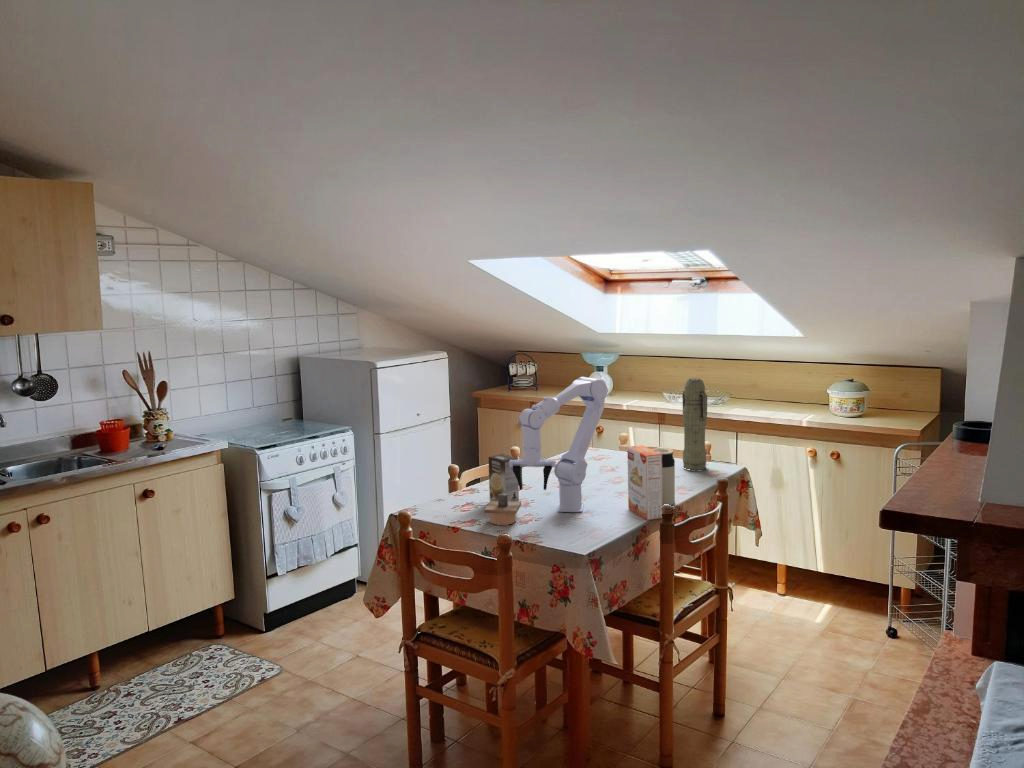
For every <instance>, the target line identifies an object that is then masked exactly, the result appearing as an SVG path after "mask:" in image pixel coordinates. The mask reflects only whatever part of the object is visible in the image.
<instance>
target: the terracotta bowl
mask: <svg viewBox="0 0 1024 768" xmlns="http://www.w3.org/2000/svg"><path fill="white" fill-rule="evenodd" d="M517 514H518V513H516V514H503V513H489V522H492V523H494V524H498V525H506V526H510V525H509V524H512V523H514V522H515V521H517V518H518V517H517ZM492 523H491V524H492ZM515 523H516V522H515ZM515 523H514V524H515ZM494 524H493V525H494ZM498 525H497V526H498ZM512 525H513V524H512Z"/></svg>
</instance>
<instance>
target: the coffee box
mask: <svg viewBox="0 0 1024 768" xmlns="http://www.w3.org/2000/svg"><path fill="white" fill-rule="evenodd" d="M517 459H519V458H518V457H514V456H511V455H508V454H505V453H500V454H495V455H491V456H488V483H489V484H488V485H489V486H488V487H489V489H488V490H489V502H490V501H498V494H507V497H508V501H520V494H519V493H520V491H519V490H520V489H519V484H518V481H517V478H516V476H515V474H514V472H513V470H512V469H513V467H509V461H510V460H517Z"/></svg>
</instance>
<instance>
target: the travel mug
mask: <svg viewBox="0 0 1024 768" xmlns="http://www.w3.org/2000/svg"><path fill="white" fill-rule="evenodd" d="M651 450H653V451H655V452H658V453H660V454H662V502H663V505H664V504H669V505H671V506H673V505H674V504H675V503H676V500H675V499H676V498H675V497H676V496H675V493H676V490H675V488H676V484H675V478H676V476H675V473H676V471H675V470H676V469H675V468H676V467H675V466H676V465H675V463H676V462H675V458H674V457H673V454H674V452H675V451H674V450H673V449H671V448H665V447H661V448H660V447H657V448H653V449H651Z"/></svg>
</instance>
